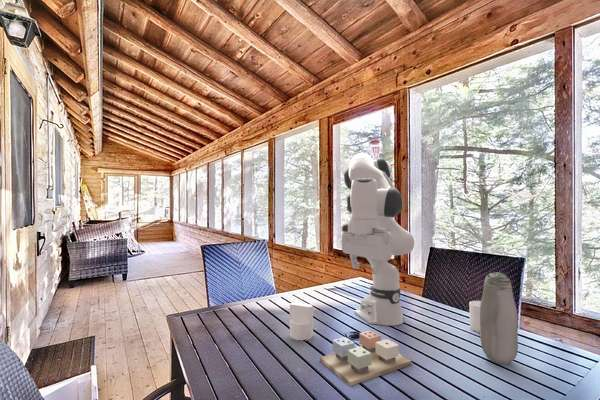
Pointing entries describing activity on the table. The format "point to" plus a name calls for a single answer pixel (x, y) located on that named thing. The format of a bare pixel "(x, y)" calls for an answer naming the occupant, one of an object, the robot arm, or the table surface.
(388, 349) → the tile one
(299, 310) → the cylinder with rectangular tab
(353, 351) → the tile two
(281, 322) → the table surface
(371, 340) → the tile four
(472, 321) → the mug
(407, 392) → the table surface
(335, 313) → the table surface
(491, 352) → the grey tall rounded block
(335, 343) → the tile three
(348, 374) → the board
